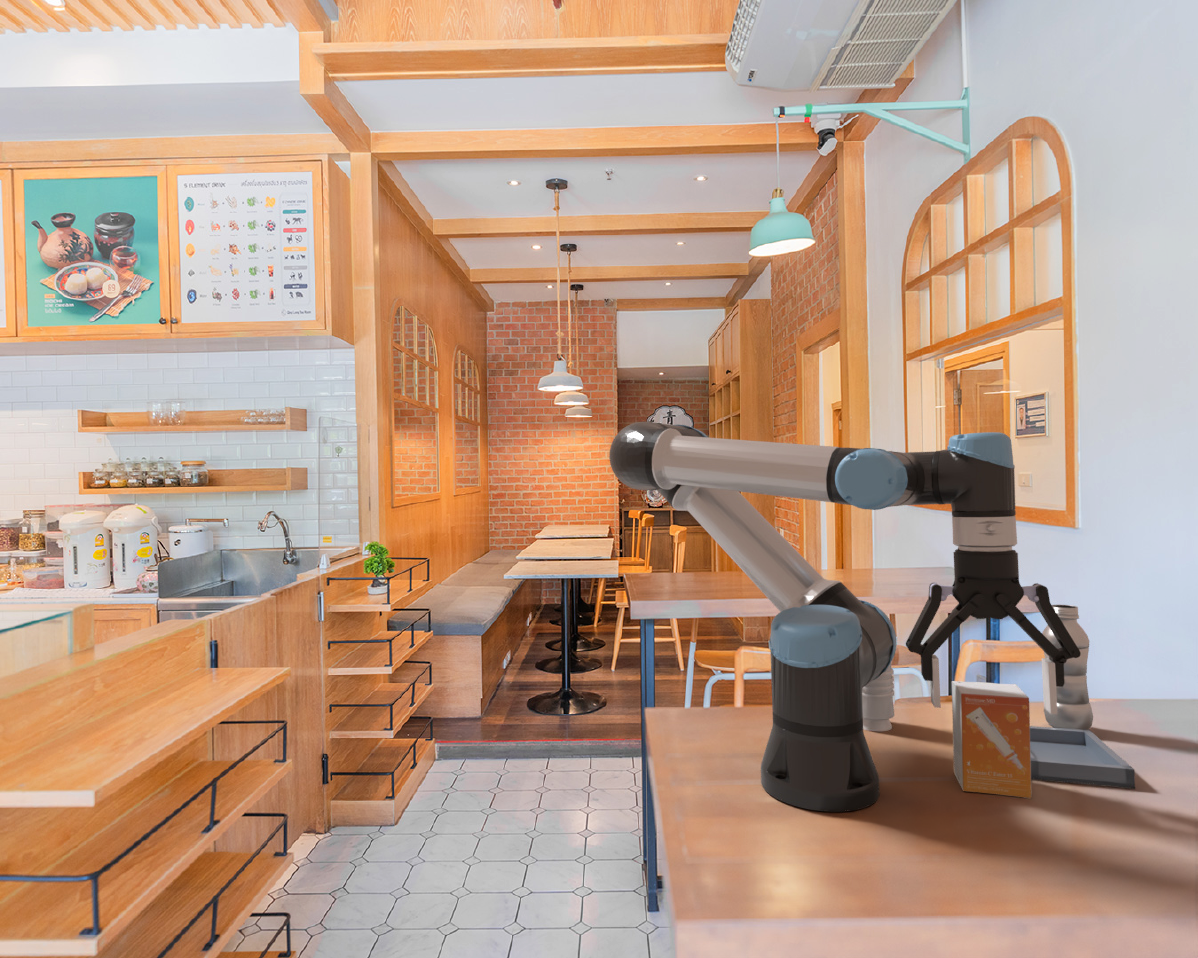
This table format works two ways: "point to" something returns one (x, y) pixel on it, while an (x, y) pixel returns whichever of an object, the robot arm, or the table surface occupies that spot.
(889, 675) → the white bottle
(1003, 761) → the small box
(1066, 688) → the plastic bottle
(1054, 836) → the table surface
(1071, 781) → the tray
